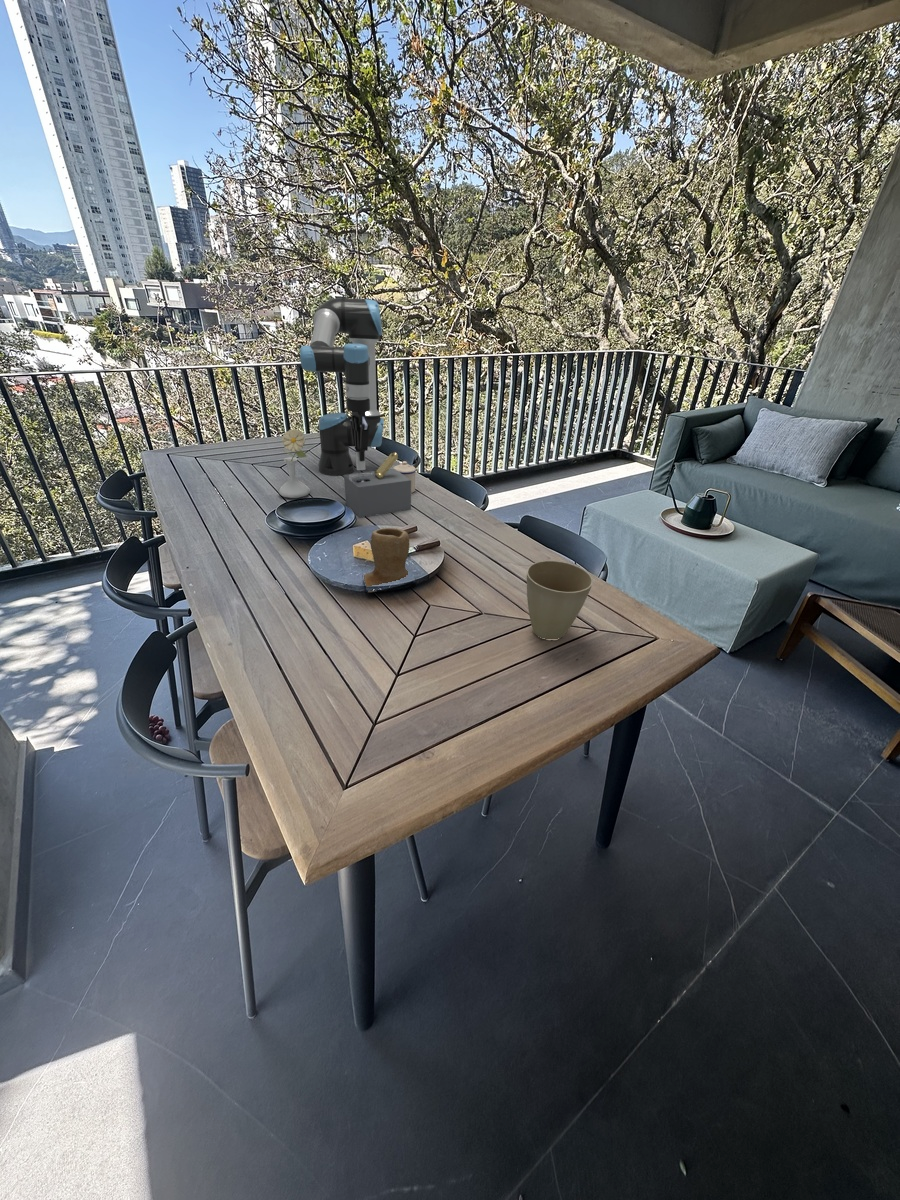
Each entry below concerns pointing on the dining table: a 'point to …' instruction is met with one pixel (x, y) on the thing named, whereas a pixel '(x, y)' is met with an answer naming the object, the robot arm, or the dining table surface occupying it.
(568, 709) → the dining table surface
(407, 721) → the dining table surface
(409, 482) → the post block
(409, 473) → the teacup with lid
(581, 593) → the plant pot
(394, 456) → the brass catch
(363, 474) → the steel pin
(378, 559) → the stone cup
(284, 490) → the flower in vase
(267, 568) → the dining table surface
